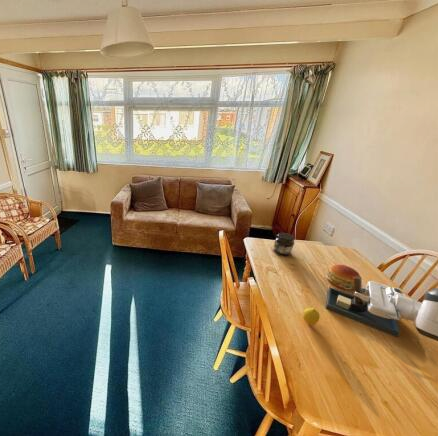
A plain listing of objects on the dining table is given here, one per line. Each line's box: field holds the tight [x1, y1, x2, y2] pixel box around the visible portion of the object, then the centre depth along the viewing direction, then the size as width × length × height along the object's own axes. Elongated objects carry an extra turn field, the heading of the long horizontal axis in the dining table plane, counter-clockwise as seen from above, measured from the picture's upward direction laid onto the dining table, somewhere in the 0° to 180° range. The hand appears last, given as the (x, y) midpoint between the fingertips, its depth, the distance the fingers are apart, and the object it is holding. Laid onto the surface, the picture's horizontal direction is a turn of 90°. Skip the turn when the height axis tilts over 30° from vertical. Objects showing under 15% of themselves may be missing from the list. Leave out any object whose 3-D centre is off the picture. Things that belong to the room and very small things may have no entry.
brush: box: [351, 275, 367, 312], centre depth 101 cm, size 5×5×16 cm
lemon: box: [302, 307, 320, 325], centre depth 97 cm, size 6×6×8 cm
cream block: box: [336, 295, 351, 310], centre depth 106 cm, size 4×4×3 cm
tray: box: [325, 286, 401, 338], centre depth 103 cm, size 24×15×3 cm, turn 51°
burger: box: [325, 264, 361, 291], centre depth 119 cm, size 13×14×10 cm
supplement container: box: [272, 232, 296, 257], centre depth 145 cm, size 10×10×12 cm
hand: (354, 290), depth 101 cm, fingers closed on brush, 2 cm apart
